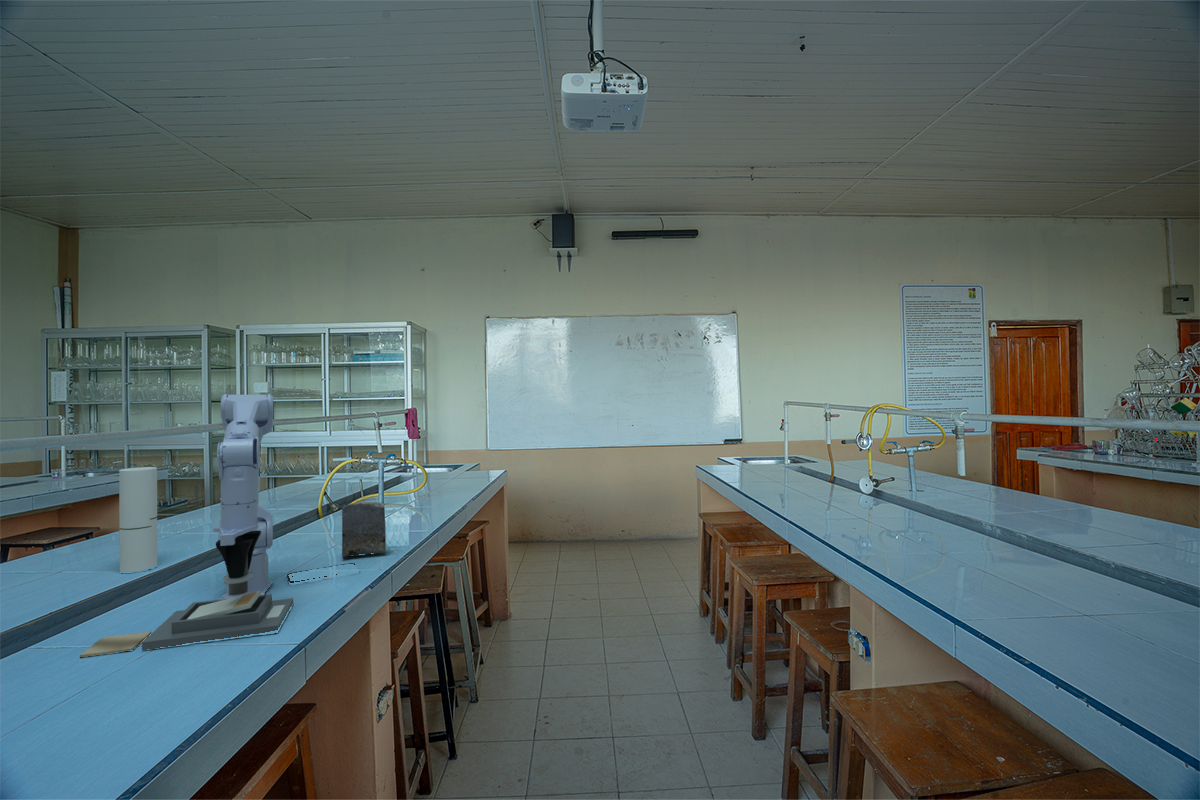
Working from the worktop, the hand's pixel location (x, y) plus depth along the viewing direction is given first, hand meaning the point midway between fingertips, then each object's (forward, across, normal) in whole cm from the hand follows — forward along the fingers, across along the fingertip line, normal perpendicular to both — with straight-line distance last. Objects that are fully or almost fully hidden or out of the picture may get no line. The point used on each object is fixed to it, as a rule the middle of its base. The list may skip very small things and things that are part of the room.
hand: (239, 574), depth 101 cm
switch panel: (+10, 0, -2) cm, 10 cm away
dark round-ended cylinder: (+3, 0, 0) cm, 3 cm away
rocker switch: (+6, 0, -2) cm, 7 cm away
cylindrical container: (+10, -46, -33) cm, 58 cm away
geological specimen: (+10, -39, +19) cm, 44 cm away
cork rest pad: (+10, +3, -17) cm, 20 cm away
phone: (+10, -26, +11) cm, 30 cm away
